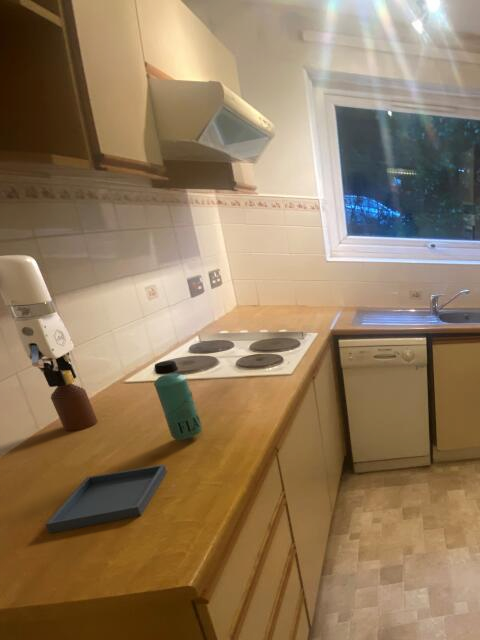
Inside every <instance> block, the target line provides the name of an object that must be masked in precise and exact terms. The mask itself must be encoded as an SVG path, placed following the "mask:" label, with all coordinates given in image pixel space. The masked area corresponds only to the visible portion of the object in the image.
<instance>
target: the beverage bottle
mask: <svg viewBox="0 0 480 640" xmlns="http://www.w3.org/2000/svg"><path fill="white" fill-rule="evenodd" d="M154 369H155V370H154V371H155V373H156V374H157V375H160V376H159V377H158V378H156V380H155V381H154V382H153V385H154V388H155V391H156V393H157V396H158V399H159V402H160V405H161V408H162V411H163V415H164V417H165V420H166V421H165V422H166V424H167V427H168V430H169V432H170V435H171V437H172V439H174V440H185V439H186V440H187V439H190V438H193V437H196V436H198V435H200V434H201V432H202V430H203V426H202V422H201V420H200V416H199V413H198V408H197V407H196V405H195V404H196V403H195V401H194V397H193V393H192V390H191V387H190V385H189V383H188V378H187V377H186V376H185V375H183V374H180V373H178V372H177V371H179V367H178V365H177V363H176V361H174V360H164V361H159V362H157V363H155V364H154ZM174 372H177V373H174Z"/></svg>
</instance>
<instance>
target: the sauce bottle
mask: <svg viewBox="0 0 480 640" xmlns="http://www.w3.org/2000/svg"><path fill="white" fill-rule="evenodd" d="M50 400H51V402H52V404H53V407H54V410H55V411H56V413H57V416H58V418H59V421H60V423H61V425H62V427H63V429H64V431H66V432H76V431H82V430H85V429H89V428H91V427H93V426H95V425H96V424H98V423H99V421H98V419H97V416H96V413H95V411H94V408H93V405H92V403H91V401H90V399H89V396H88V392H87V391H86V390H85V389H84V388H83V387H80V386H78V385H75V384H74V383H71V384H68V385H65V386H56V387H55V389H54V391H53V392H52V393H51V395H50Z"/></svg>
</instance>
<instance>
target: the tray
mask: <svg viewBox="0 0 480 640" xmlns="http://www.w3.org/2000/svg"><path fill="white" fill-rule="evenodd" d="M166 474H168V470H167V468H166V465H165V464H159V465H152V466H147V467H140V468H134V469H128V470H120V471H116V472H109V473H104V474H97V475H92V476H86V478H85V479H84V480H83V481H82V482H81V483H80V484H79V486H78V487H77V488H76V489H75V490H74V491H73V492H72V493H71V495H70V496H69V497H68V498H67V499H66V500H65V502H64V503H63V504H61V506H60V507H59V508H58V509H57V510H56V512H54V514H53V515H52V516H51V517H50V518H49V520H48V521H47V522H46V523H45V526H46V530H47V531H48V533H49V534H54V533H59V532H64V531H69V530H73V529H74V530H75V529H79V528H85V527H90V526H95V525H101V524H105V523H111V522H114V521H121V520H125V519H130V518H135V517H141V516H142V514H143V513H144V512H145V510H146V508H147V506H148V505H149V503H150V501H151V500H152V499H153V496H154V495H155V493H156V492H157V490H158V488H159V486H160V485H161V483H162V481H163V480H164V478H165V476H166Z"/></svg>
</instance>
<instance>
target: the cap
mask: <svg viewBox="0 0 480 640" xmlns="http://www.w3.org/2000/svg"><path fill="white" fill-rule="evenodd" d="M61 371H62V373H63V376H64V378H65V380H66V383H67V384H66V385H68V384H71V383H72V384H74V383H75V381H76V380H75V379H74V378H73V375H72V373H71V371H70V370H61Z"/></svg>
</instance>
